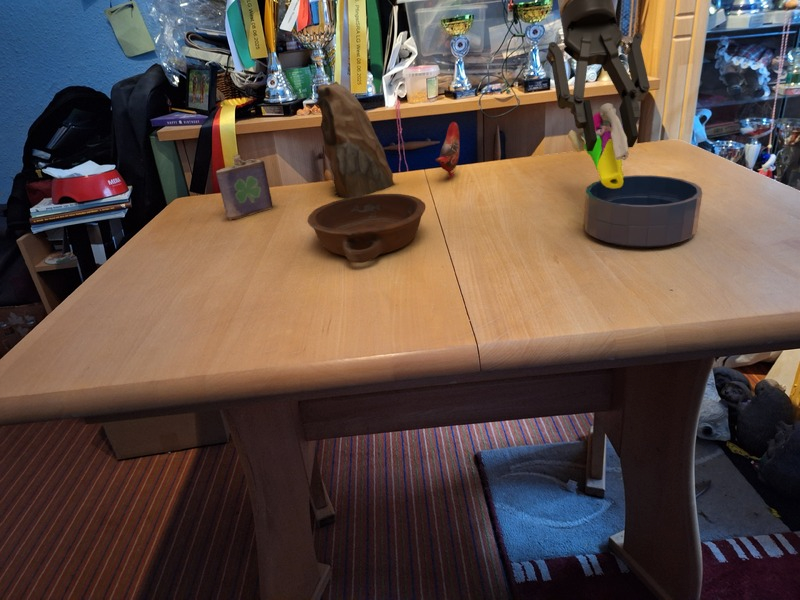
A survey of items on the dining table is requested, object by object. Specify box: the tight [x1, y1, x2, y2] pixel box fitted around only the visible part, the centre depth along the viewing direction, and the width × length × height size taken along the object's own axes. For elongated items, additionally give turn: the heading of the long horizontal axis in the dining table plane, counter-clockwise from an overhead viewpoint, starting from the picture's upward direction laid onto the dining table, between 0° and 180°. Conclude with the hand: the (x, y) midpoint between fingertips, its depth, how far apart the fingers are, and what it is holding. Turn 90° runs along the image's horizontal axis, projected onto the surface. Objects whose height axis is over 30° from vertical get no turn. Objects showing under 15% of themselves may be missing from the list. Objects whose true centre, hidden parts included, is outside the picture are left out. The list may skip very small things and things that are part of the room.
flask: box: [215, 154, 274, 221], centre depth 102 cm, size 9×3×11 cm, turn 129°
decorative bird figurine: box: [435, 121, 460, 180], centre depth 109 cm, size 3×18×10 cm, turn 163°
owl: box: [315, 81, 395, 199], centre depth 108 cm, size 13×13×20 cm
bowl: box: [583, 174, 703, 249], centre depth 76 cm, size 14×14×6 cm
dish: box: [307, 193, 427, 264], centre depth 84 cm, size 18×22×5 cm
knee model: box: [567, 102, 629, 189], centre depth 81 cm, size 9×8×25 cm
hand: (612, 143), depth 77 cm, fingers closed on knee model, 5 cm apart
